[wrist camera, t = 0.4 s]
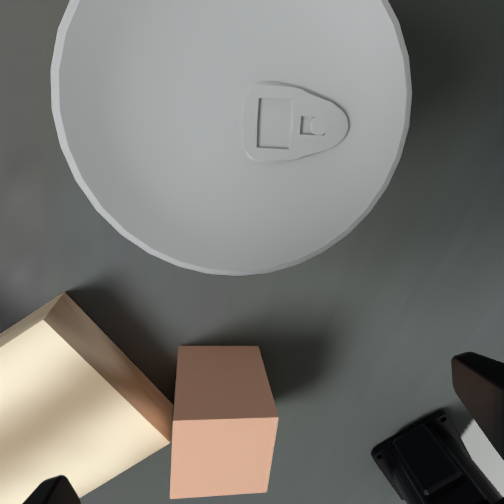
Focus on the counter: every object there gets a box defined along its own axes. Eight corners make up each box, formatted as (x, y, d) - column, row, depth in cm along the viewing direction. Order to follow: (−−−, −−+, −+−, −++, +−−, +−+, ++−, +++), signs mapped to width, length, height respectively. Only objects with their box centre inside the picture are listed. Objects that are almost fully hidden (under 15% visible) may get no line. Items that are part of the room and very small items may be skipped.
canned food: (305, 175, 20) (425, 233, 9) (162, 213, 19) (125, 317, 9) (277, 16, 17) (404, -149, 7) (109, 54, 16) (-32, -58, 6)
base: (173, 404, 23) (170, 442, 21) (49, 481, 24) (29, 528, 21) (64, 291, 20) (43, 319, 17) (-79, 385, 20) (-122, 427, 18)
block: (258, 345, 23) (278, 417, 17) (250, 408, 25) (266, 492, 19) (178, 345, 22) (173, 420, 17) (175, 410, 24) (169, 499, 18)
